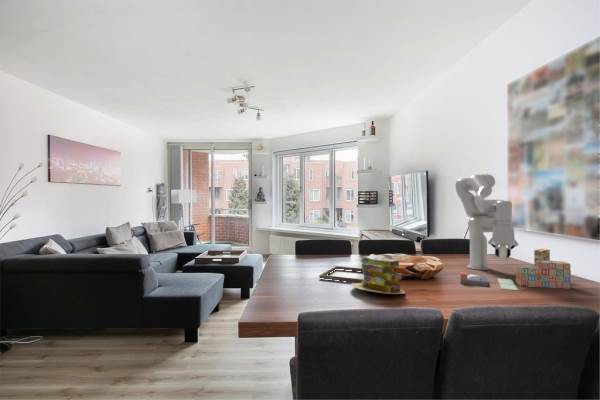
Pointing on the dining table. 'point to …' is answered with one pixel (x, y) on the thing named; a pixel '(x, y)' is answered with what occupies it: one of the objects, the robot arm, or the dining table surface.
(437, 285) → the dining table surface
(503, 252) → the pawn
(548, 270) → the stack of blocks
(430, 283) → the dining table surface
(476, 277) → the dome
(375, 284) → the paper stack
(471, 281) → the grey stepped block
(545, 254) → the candy box
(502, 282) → the track
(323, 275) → the frame
